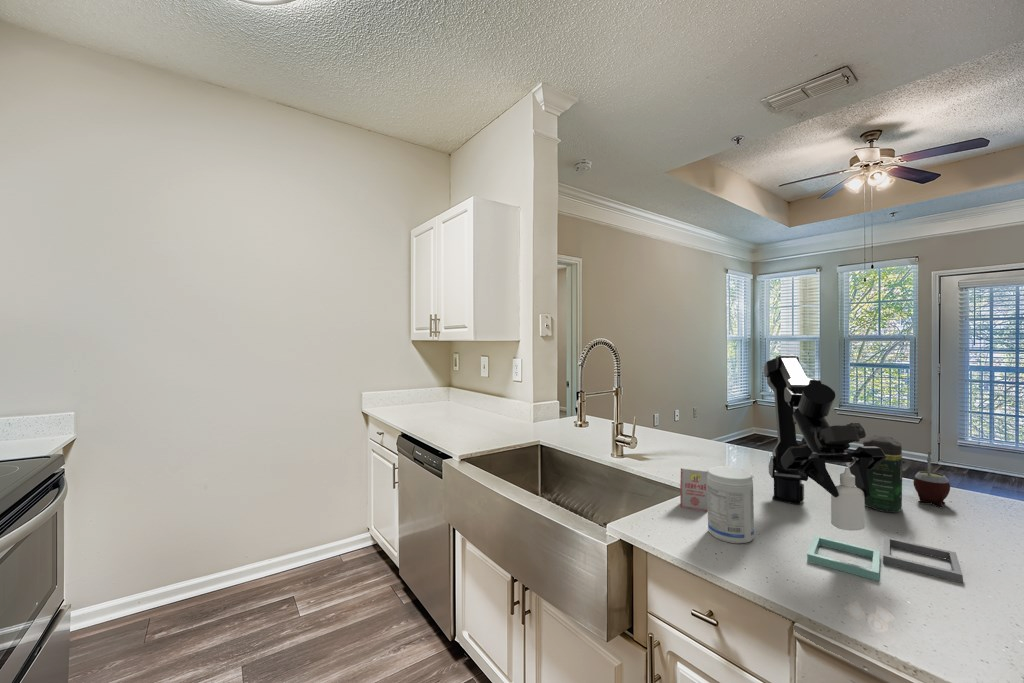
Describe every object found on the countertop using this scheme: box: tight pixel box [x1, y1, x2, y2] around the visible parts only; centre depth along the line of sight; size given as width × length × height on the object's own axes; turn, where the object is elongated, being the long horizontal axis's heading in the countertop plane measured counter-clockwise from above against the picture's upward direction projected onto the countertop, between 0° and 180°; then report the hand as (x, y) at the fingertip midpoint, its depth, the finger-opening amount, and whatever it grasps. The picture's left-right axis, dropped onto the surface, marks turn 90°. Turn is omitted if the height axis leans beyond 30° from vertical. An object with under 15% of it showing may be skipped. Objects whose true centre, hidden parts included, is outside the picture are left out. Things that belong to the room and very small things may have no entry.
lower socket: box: [806, 534, 881, 582], centre depth 87 cm, size 11×11×2 cm
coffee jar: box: [862, 435, 903, 513], centre depth 114 cm, size 10×8×19 cm
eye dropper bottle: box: [830, 467, 866, 531], centre depth 87 cm, size 4×6×12 cm
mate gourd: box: [913, 451, 951, 509], centre depth 115 cm, size 8×8×15 cm
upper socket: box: [882, 535, 964, 584], centre depth 86 cm, size 11×11×2 cm
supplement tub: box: [707, 465, 755, 544], centre depth 98 cm, size 10×10×15 cm
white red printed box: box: [679, 468, 708, 512], centre depth 115 cm, size 4×7×10 cm, turn 63°
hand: (852, 496), depth 85 cm, fingers closed on eye dropper bottle, 6 cm apart
